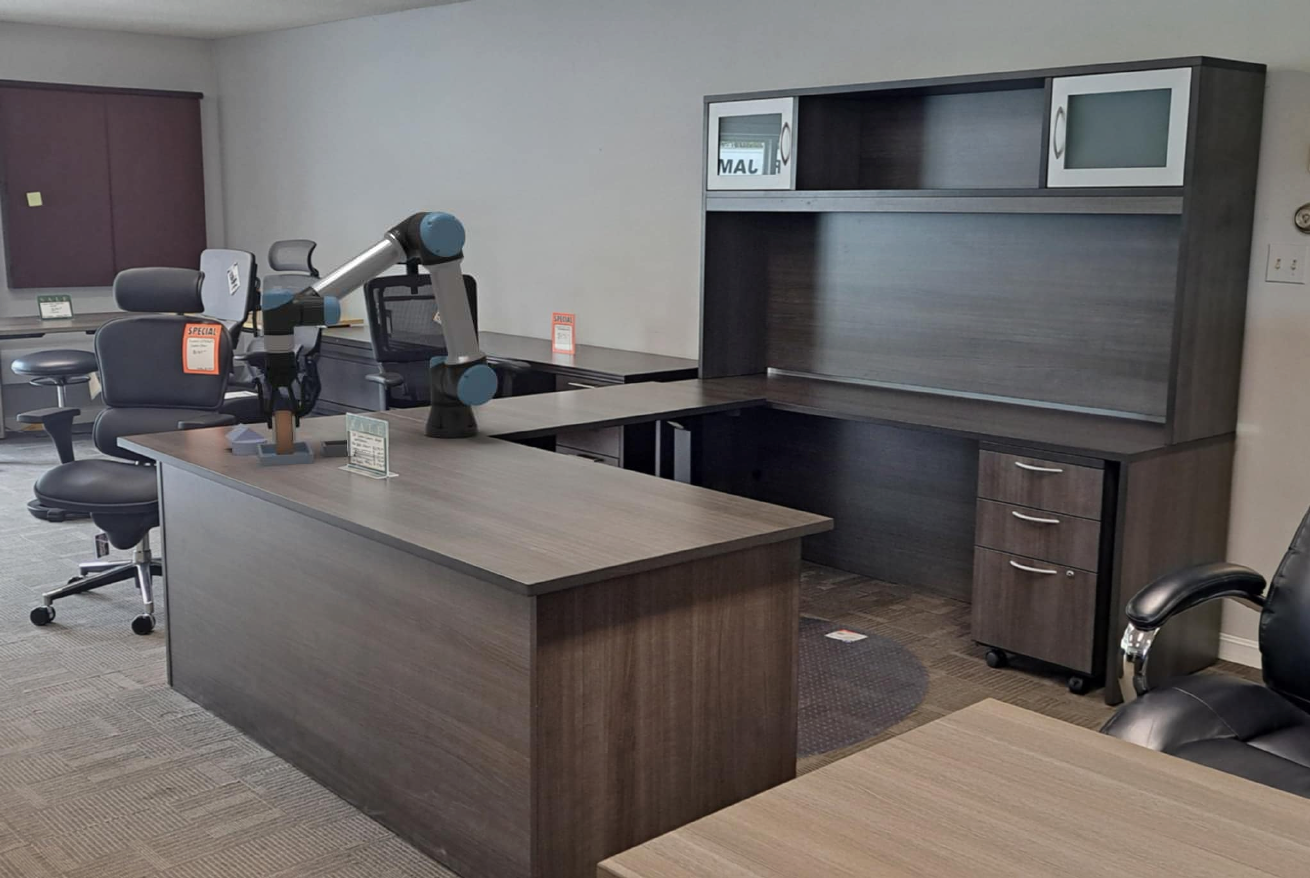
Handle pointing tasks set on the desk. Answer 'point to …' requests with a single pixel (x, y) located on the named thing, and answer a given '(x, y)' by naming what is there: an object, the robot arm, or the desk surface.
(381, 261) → the robot arm
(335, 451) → the grey square open box
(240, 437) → the wedge on round base
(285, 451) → the dowel
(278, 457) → the tray
